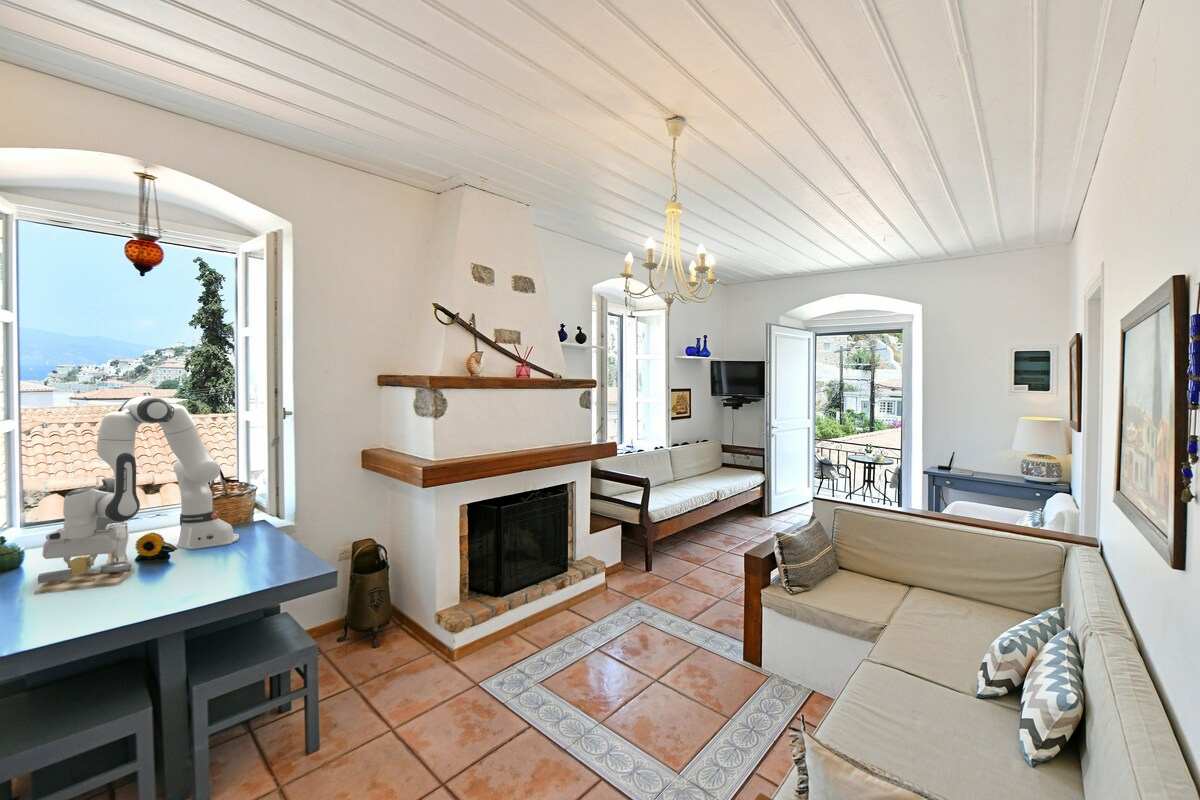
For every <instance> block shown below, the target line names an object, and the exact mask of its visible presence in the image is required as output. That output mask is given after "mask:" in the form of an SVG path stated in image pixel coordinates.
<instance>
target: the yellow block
mask: <svg viewBox="0 0 1200 800" xmlns="http://www.w3.org/2000/svg"><path fill="white" fill-rule="evenodd" d="M91 559H92V558H90V555H86V556H75V558H73V559H72V560H71V559H70V560H71V561H70V567H71V568H70V569H72V574H81V573H88V571H90V570H91V569H92V566H90V567H87V562H88V561H90V560H91Z"/></svg>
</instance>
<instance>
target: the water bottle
mask: <svg viewBox="0 0 1200 800" xmlns="http://www.w3.org/2000/svg"><path fill="white" fill-rule="evenodd" d="M114 481H115V478H113V477H112V478H111V477H106V478H103V479H101V482H102V484H101V485H99V486H98V487H97V490H98V491H103V492H110V493H114ZM114 523H125V521H123V522H117V521H114V520H111V519H108V518H103V517H100V518H97V520H96V530H106V526H107V525H110V524H114Z"/></svg>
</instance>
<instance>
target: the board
mask: <svg viewBox="0 0 1200 800" xmlns="http://www.w3.org/2000/svg"><path fill="white" fill-rule="evenodd" d="M132 573H134V568H131V571H130V572H124V573H114V574H105V575H101V574H100V571H94V572H93V571H92V572H85V573H78V574H72V578H71V579H67V580H61V581H54V582H48V583H43V584H42V585H41V586H39V587H37V588H36V589H34V590H33V592H34V593H33V594H34V595H38V593H39V594H46V592H48V593H56V592H65V591H73V590H74V591H75V590H82V589H93V588H94V589H95V588H102V587H103V588H104V587H111V586H119V584H120V583H122V582H123V581H124V580H125V579H126V578H128V577H129V576H130V575H131V574H132Z"/></svg>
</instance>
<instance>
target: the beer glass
mask: <svg viewBox="0 0 1200 800" xmlns="http://www.w3.org/2000/svg"><path fill="white" fill-rule="evenodd" d="M106 529H111V530H113V531H115V532H116V538H115V541H116V550H115V551H113V552H112V553H108V555H107V560H106V564H108V565H119V564H124V563H126V562H128V556H127V548H128V544H129V543H128V542H129V537H130V535H129V534H130V530H129V523H127V522H124V523H114V524H110V525H107V526H106ZM113 531H111V532H113Z"/></svg>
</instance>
